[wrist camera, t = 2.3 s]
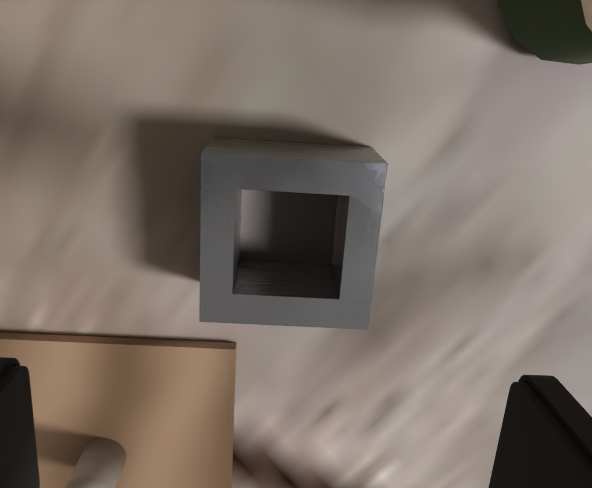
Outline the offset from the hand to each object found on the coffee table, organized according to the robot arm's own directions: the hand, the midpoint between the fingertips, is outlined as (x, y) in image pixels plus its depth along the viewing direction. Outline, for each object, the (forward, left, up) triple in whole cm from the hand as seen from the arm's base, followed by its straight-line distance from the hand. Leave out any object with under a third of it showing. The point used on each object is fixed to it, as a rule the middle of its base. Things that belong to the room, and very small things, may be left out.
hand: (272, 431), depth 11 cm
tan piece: (+8, +12, -13) cm, 19 cm away
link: (0, 0, -13) cm, 13 cm away
